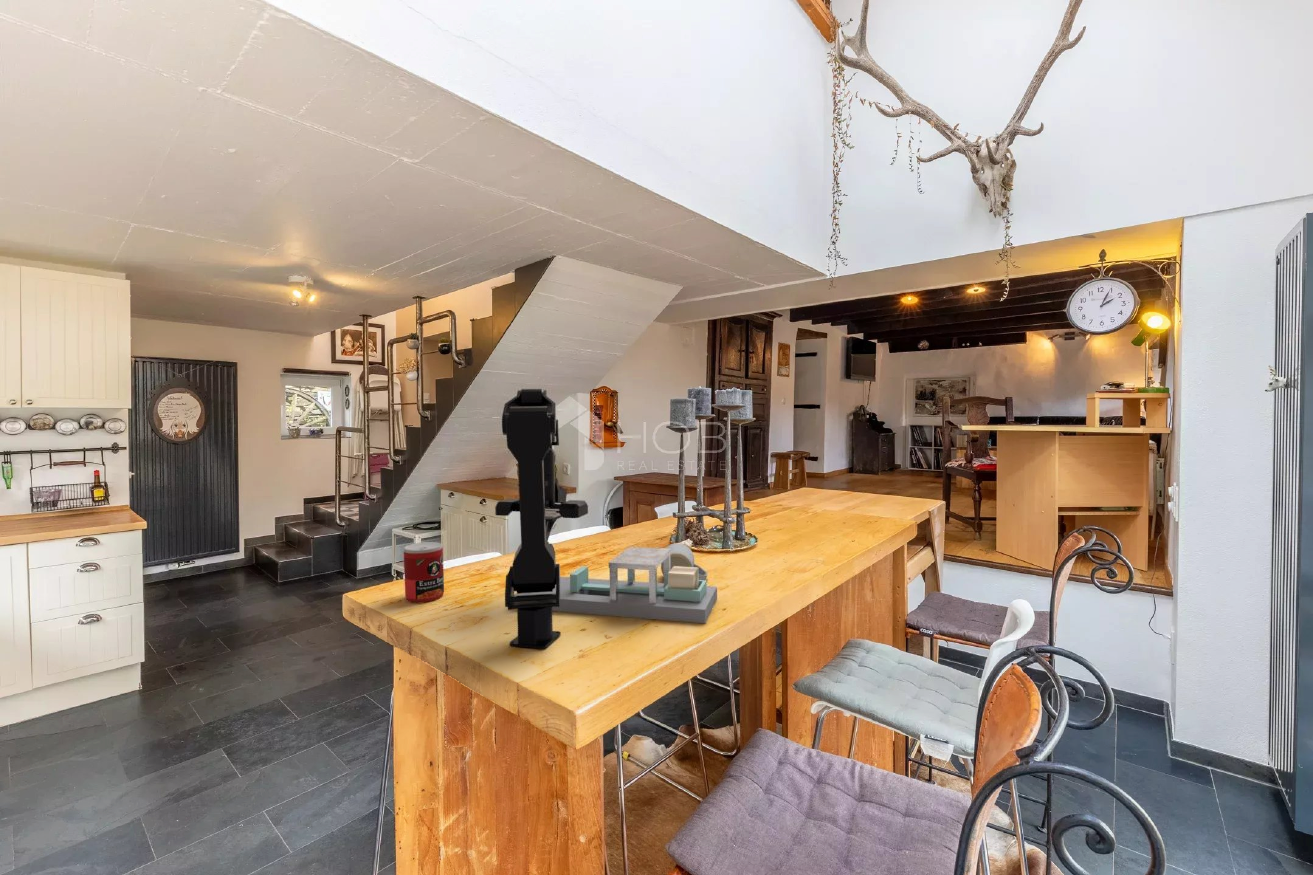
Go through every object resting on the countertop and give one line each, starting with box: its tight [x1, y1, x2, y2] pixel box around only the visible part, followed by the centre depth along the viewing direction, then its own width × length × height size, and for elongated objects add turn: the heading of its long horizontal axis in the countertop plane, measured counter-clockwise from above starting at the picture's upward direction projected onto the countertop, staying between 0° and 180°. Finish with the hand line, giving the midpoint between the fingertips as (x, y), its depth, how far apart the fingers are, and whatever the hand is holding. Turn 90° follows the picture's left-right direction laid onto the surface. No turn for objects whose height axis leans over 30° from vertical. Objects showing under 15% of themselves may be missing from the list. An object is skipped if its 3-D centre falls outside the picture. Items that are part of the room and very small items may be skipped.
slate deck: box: [514, 576, 718, 624], centre depth 112 cm, size 14×38×2 cm, turn 75°
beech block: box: [668, 566, 699, 590], centre depth 109 cm, size 5×5×5 cm
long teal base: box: [569, 566, 708, 602], centre depth 111 cm, size 7×26×4 cm, turn 75°
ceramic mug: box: [660, 542, 708, 581], centre depth 128 cm, size 11×8×8 cm
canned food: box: [403, 541, 445, 603], centre depth 118 cm, size 8×8×11 cm
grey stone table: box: [608, 546, 671, 604], centre depth 111 cm, size 13×9×8 cm
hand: (542, 548), depth 117 cm, fingers closed
